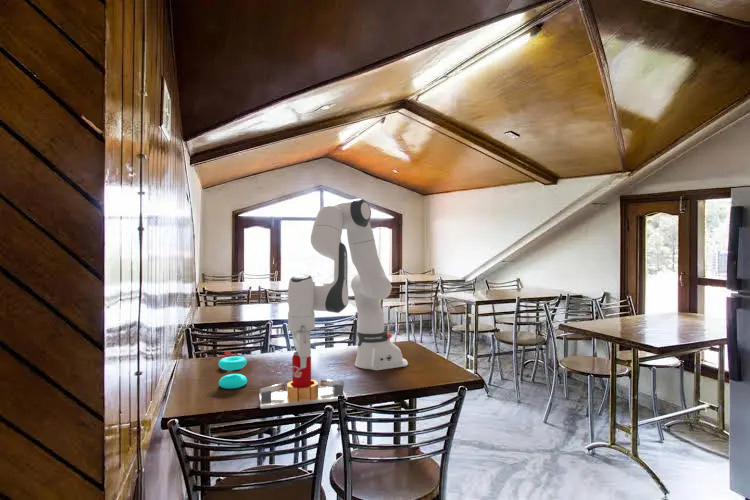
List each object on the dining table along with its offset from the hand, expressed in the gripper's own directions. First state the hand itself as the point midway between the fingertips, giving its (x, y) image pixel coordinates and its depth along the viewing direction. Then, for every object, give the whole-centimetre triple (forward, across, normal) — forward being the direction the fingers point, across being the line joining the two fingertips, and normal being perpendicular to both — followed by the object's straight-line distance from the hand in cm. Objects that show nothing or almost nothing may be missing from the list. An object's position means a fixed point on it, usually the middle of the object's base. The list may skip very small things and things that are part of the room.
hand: (301, 364), depth 159 cm
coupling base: (+11, 0, 0) cm, 11 cm away
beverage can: (+8, 0, 0) cm, 8 cm away
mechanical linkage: (+12, +51, +25) cm, 58 cm away
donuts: (+12, +22, +23) cm, 34 cm away
